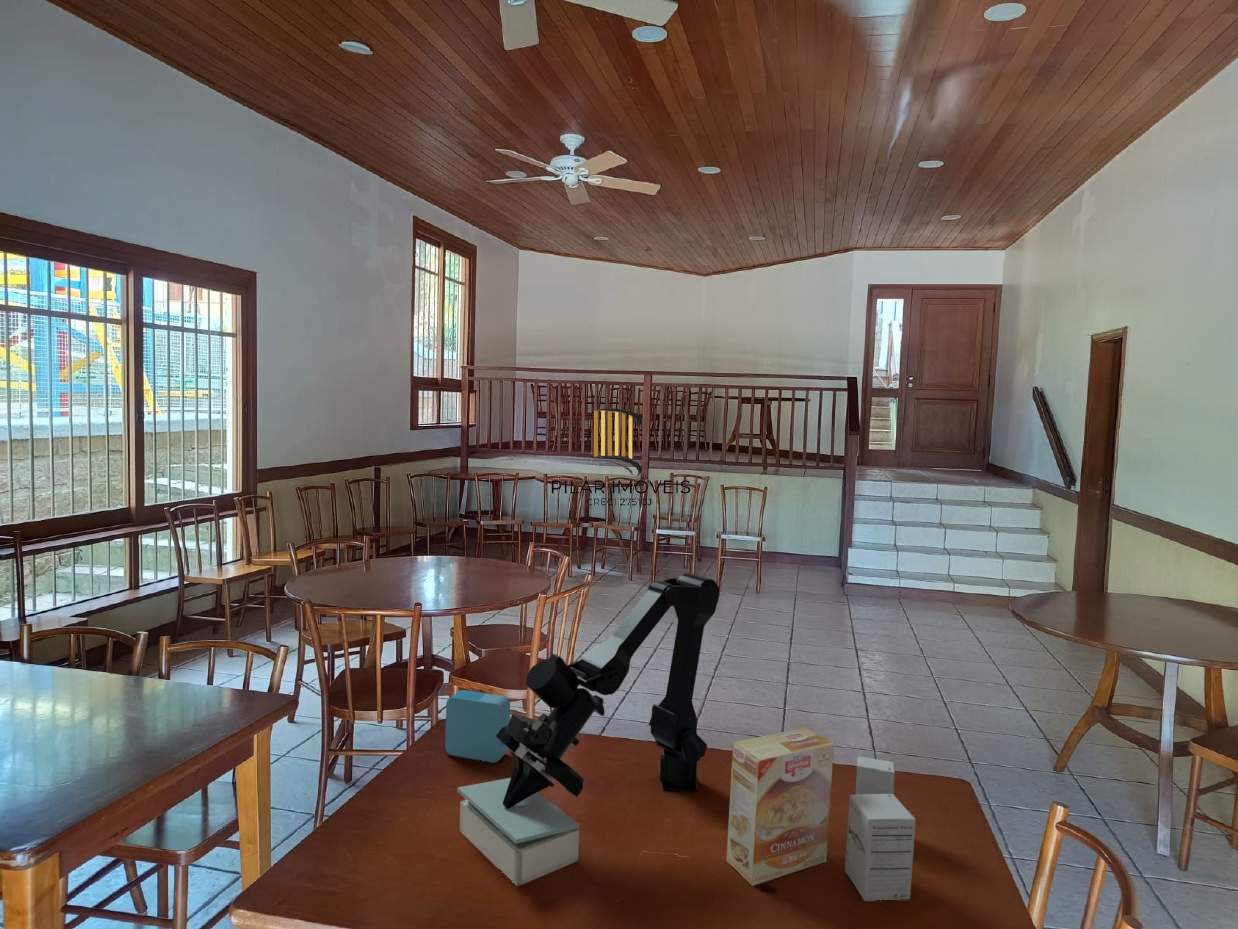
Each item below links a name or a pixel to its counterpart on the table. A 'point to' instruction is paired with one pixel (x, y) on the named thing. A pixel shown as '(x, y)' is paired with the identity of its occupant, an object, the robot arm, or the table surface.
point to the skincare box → (874, 776)
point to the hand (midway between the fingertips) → (505, 806)
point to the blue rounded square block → (476, 725)
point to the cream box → (518, 847)
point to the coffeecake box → (779, 804)
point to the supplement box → (880, 847)
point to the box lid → (517, 812)
